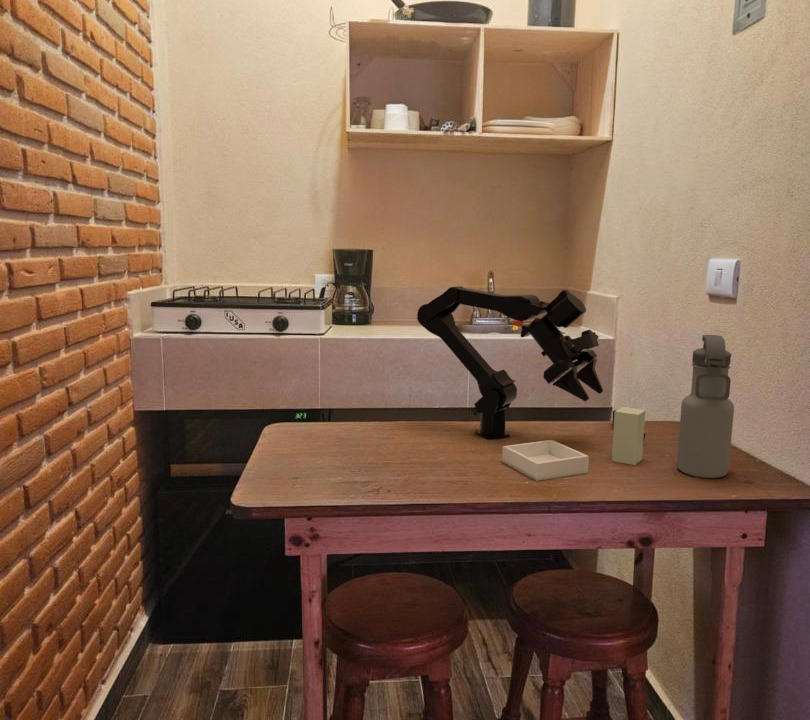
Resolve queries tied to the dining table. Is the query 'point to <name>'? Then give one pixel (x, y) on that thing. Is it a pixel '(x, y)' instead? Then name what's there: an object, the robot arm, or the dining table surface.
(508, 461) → the box
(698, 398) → the water bottle
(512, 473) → the dining table surface
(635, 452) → the pale green tall block
